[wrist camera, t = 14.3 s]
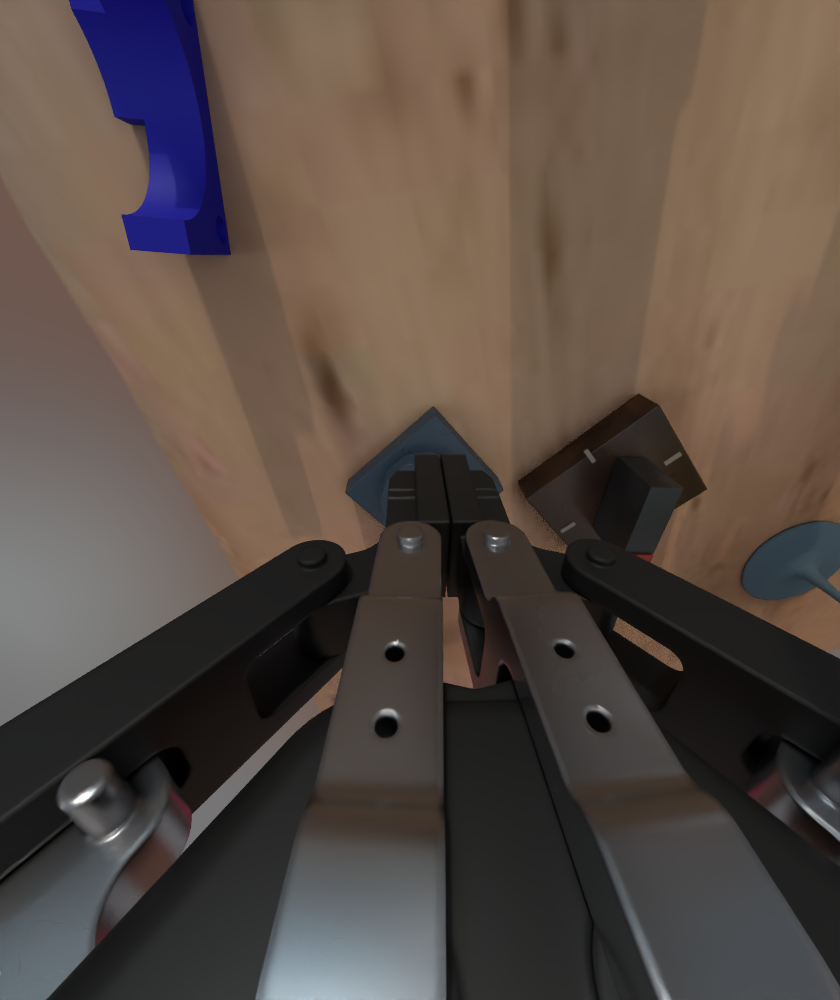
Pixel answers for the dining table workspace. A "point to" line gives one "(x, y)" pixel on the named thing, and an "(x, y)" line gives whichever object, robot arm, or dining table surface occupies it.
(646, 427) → the switch base
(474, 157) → the dining table surface
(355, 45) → the dining table surface
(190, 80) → the blue notched block
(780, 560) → the cocktail glass
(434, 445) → the button box
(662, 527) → the selector knob handle
